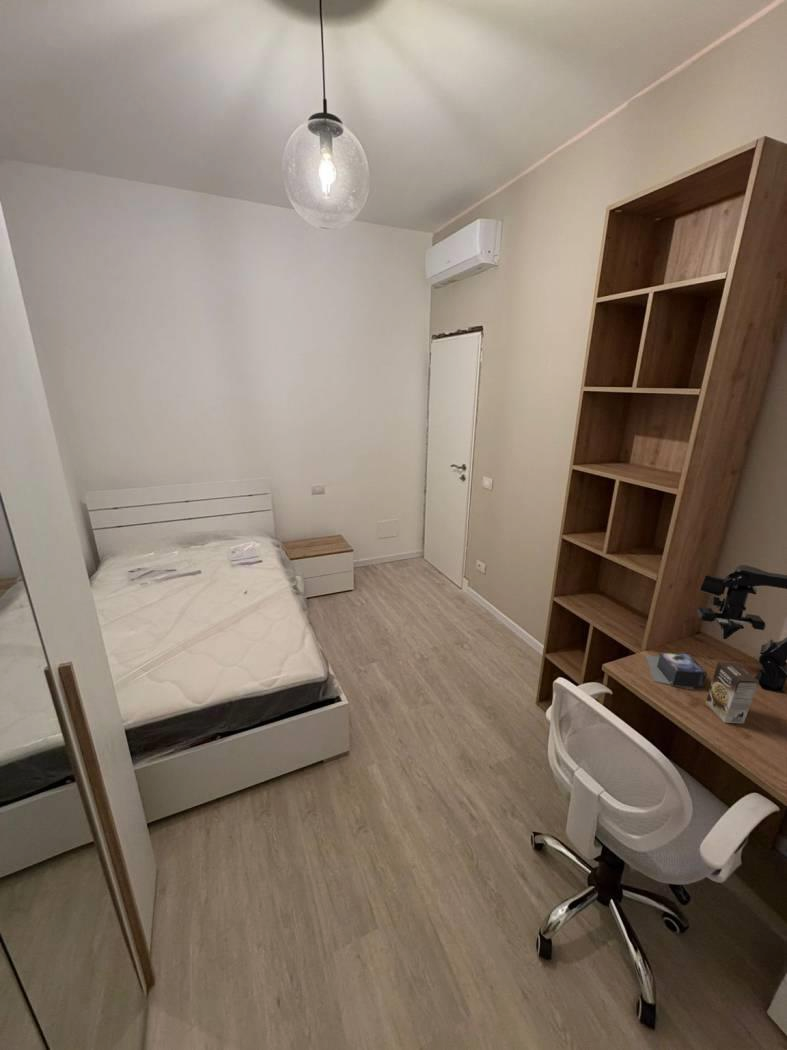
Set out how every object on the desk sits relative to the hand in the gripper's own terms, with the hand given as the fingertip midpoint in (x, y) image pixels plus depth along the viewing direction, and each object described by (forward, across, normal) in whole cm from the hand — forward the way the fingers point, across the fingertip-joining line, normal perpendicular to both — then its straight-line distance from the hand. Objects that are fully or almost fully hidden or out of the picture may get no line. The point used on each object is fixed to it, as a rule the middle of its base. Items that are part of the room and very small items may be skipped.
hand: (724, 638), depth 152 cm
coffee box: (+12, +5, +27) cm, 30 cm away
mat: (+12, +18, +10) cm, 23 cm away
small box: (+8, +9, +11) cm, 17 cm away
